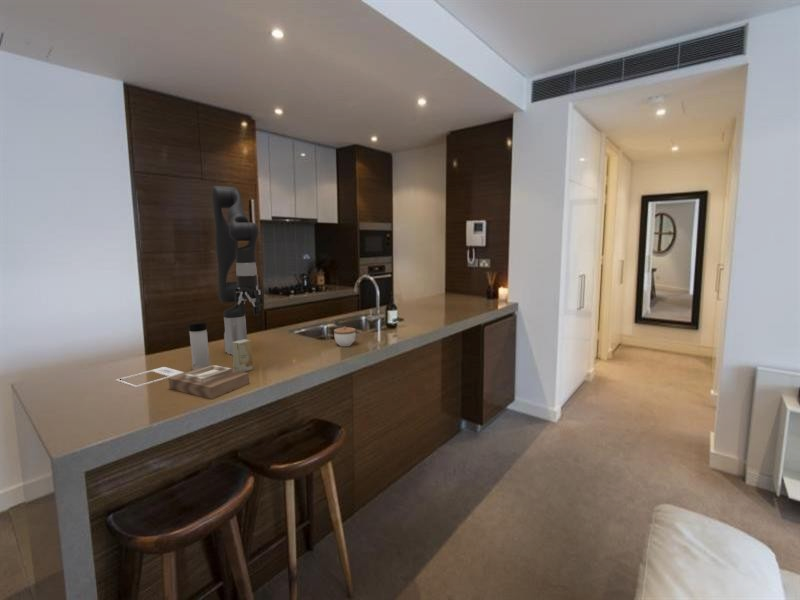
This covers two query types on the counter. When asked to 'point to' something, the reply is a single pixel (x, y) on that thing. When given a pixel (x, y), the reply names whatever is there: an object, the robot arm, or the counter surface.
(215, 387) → the display stand
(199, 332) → the travel mug
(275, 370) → the counter surface
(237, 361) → the skincare box
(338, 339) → the lidded jar
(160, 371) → the photo frame
